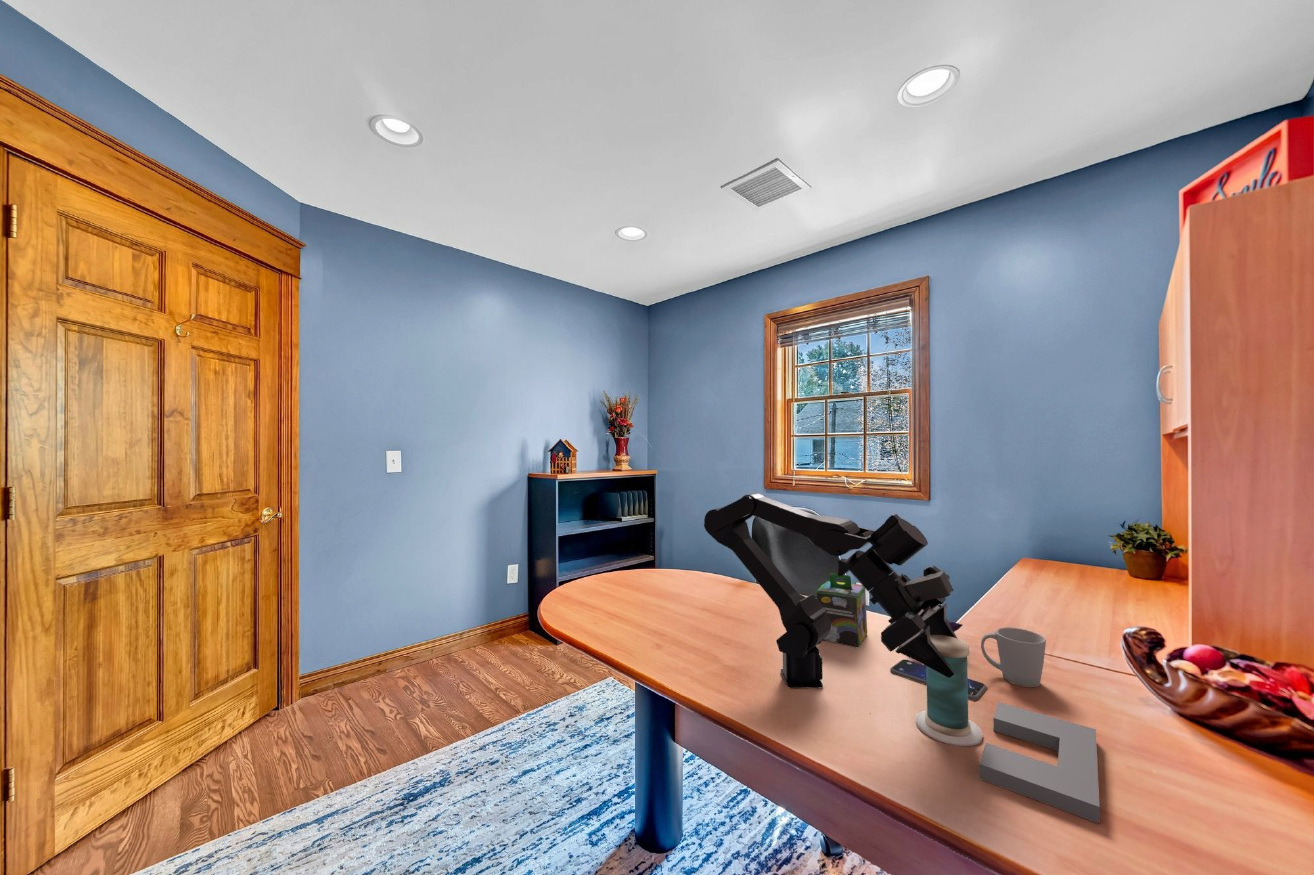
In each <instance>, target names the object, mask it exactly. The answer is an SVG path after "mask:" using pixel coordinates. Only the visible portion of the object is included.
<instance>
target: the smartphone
mask: <svg viewBox="0 0 1314 875" xmlns="http://www.w3.org/2000/svg"><path fill="white" fill-rule="evenodd" d="M889 671H890V672H891V673H892V674H894V675H896V676H899V677H902V678H905V679H908V680H910V681H914V682H917V683H921V684H923V685H925V686H927V675H926V665H924V664H922V663H920V662H917V661H916V662H915V661H914V660H910V659H901V660H900V661H898V662H897V663H895V664H894V665H893V666H892V667H890V670H889ZM987 689H988V686H987V685H986V684H985V683H983V682H980V681H977V680H974V679H971V678H968V700H971V701H977V700H979V699H980V698H981V697H982V695H983V694H984V693H985V692H986V691H987Z"/></svg>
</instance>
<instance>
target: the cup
mask: <svg viewBox="0 0 1314 875" xmlns="http://www.w3.org/2000/svg"><path fill="white" fill-rule="evenodd" d="M989 639H994V640H996V643H997V644H996V645H997V651H998V656H999V661H997V660H994V659H993V658H991V657H990V656H989V655H988V654H987V652H986V650H985V642H986V640H989ZM1046 644H1047V639H1046V638H1045V637H1044V636H1043V635H1041V634H1040V633H1037V632H1034V631H1032V630H1028V629H1023V628H1019V627H998V628H997V629H995V632H990V633H987V634H984V635H983V636H982V638H981V641H980V649H981V653H982V655H983V656H984V658H985V660H986V661H987V662H988V663H989V664H990V665H991V666H992V667H994V668H996V669H997V670H999V671H1001V673H1002V677H1003V678H1004V680H1006V681H1007V682H1009V683H1011V684H1013V685H1017V686H1020V687H1025V688H1037V687H1039V686H1041V683H1042V682H1041V681H1042V676H1043V669H1044V663H1045V656H1046V654H1045V653H1046Z"/></svg>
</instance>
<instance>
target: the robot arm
mask: <svg viewBox="0 0 1314 875" xmlns="http://www.w3.org/2000/svg"><path fill="white" fill-rule="evenodd" d="M752 517H757V518H759V519H762V520H764V521H767V522H769V523H772V524H774V525H777V526H778V527H781V528H784V529H787V530H788V531H791V532H794V533H796V534H799V535H801V536H803V537H804V538H806V539H807V540H808V541H810V543H812V545H814V546H816V547H817V548H818V549H820V550H822V551H823V552H825V553H826V554H828V555H830V556H834V557H840V556H844V555H846V554H848V553H849V552H851V551H853V550H856V551H855V552H854V553H852V554H851V555H850V556H849V557H848V558H844V557H842V558H840V559H838V560H837V564H838V568H837V574H838V576H840V577H841V576H843V575H847V574H848V573H849V572H850V573H851V575H853V577H854V578H855V579H856V580H857V581H858V582H859V583H860V585H863V587H864V588H865V591H867V592H868V593H869V594H870V596H871V598H870V599H869V601H870V602H871V604H873V605H876V604H879V605H880V607H881V608H882V609H883V610H884V611H885V613H887V615H888V616H889V617H890V618H889V619H888V620H887V621H888V622H889V625H887V626H886V627H885V628H884V629H883V630H882V631H881V632H880V642H881V643H882V644H883V645H884V646H885V647H886V649H887V650H888V651H889V652H890V653H891V652H893V651H895V653H896V654H902V655H903V656H906V657H908V658H909V659H912V660H913V661H916V662H917V663H920V664H923V665H926V666H927V667H929V668H931V669H933V670H935V671H937V672H939V673H940V674H942V675H944V676H946V677H948V678H950V677H952V676H953V675H954V672H953V670H952V669H951V667H950V666H949V664H948V663H947V662H946V660H945V659H944V658H943V656H942V655H941V654H940V652H939V651H938V649H937V648H936V647H935V645H934V644H933V643H932V641H931V639H930V635H944V636H950V637H954V638H957V639H959V638H958V636H957V635H956V633H955V632H954V631H953V630H952V628H951V626H950V624H949V622H948V621H949V620H948V619H947V608H948V604H947V603H945V601H946V600H947V597H949V596H951V593H952V592H954V588H953V585H952V584H951V582H950V575H949V574H946V572H945V570H944V569H943V570H940V569H939V568H938V567H937V566H936V565H929V566H927V567H925V568H924V569H923V576H922V575H921V576H919V577H916V578H914V579H913V578H912V579H910V577H909V576H908V575H907V574H904V573H901V574H898V573H897V572H896V571H895V570H894V569H893V567H892V566H891V565H893V564H894V565H897V566H900V567H902V565H904V564H905V563H906V562H908V561H909V560H910V559H911V558H913V557H914V556H915V555H917V554H918V553H919V552H920V551H922V550H923V549H924V548H925V547H927V546H928V544H929V541H928V539H927V538H926V537H925V535H924V534H923V532H922V531H921V530H920V529H919V528H918V527H917V526H915V525H913V524H912V523H911V522H909V521H908V520H905V519H903V518H901V516H899V514H897V513H894V514H891V515H890V516H889V517H888V518H887V519H886V520H885V521H884V523H883V524H881V525H880V526H879V527H878V528H877V529H875V530H874V529H869V528H865V527H861V526H859V525H858V524H857V523H856V522H855V521H853V520H851V519H847V518H841V517H836V516H831V515H830V516H827V515H817V514H813V513H810V512H808V511H805V510H803V509H799V508H796V507H794V506H791V505H788V504H786V503H783V502H781V501H777V500H775V499H772V498H770V497H766V496H764V495H763V494H762V493H758V492H754V493H749V494H744V495H743V496H742V497H740V498H738V499H737V500H736V501H734V502H731V503H729V504H727V505H725V506H723V507H718V508H712V509H710V510H708V511H707V512H706V514H705V515H704V521H703V527H704V530H705V531H706V533H707V534H708V535H709V536H710V537H711V538H713V540H715V541H716V542H717V543H718V544H719V545H720V544H721V545H722V546H724V547H726V548H727V549H729V550H731V551H732V552H733V554H735V556H736V557H737V558H738V559H739V561H740V562H741V564H742V565H743V566H744V567H745V568H746V570H747V571H748V572H749V573H750V574H751V576H752V578H754V580H755V581H756V582H757V583H758V585H760V587H761V589H762V590H763V591H764V592H765V593H766V594H767V596H768V597H769V598H770V600H771V601H772V602H773V603H774V604H775V606H776V607H777V609H778V612H779V615H780V619H781V623H782V626H783V627H784V629H785V630H786V632H784V634H782V635H781V636H780V637H778V638H777V639H776V644H777V648H778V651H779V652H780V653H782V668H781V669H780V674H781V676H782V679H783V680H784V682H785V684H786V686H787V687H788V688H789V689H791V688H792V689H793V688H794V689H795V688H796V689H799V688H800V689H801V688H802V689H804V688H805V689H807V688H814V689H815V688H816V689H817V688H818V689H819V688H821V689H822V688H823V687H824V683H823V682H822V680H823V677H824V676H823V674H824V673H823V657H822V656H821V655H820V649H819V648H818V647H817V646H818V645H820V644H821V643H822V641H823V640H822V639H824V638H825V637H826V636H827V635H828V634H829V633H830V630H831V620H830V618H829V616H828V615H827V613H826V612H828V610H827V609H825V608H824V607H823V606H822V605H821V604H820V603H819V602H818V600H817V596H815V595H814V594H813V593H811V594H809V595H808V596H804V594H803V595H802V594H800V593H799V592H798V591H797V590H796V589H795V588H794V586H793V585H792V584H791V583H790V582H789V581H788V579H787V578H786V577H785V576H784V574H783V573H782V572H781V571H780V570H779V568H777V566H776V565H775V564H774V563H773V561H772V560H771V559H770V558H769V557H768V556H767V554H766V553H765V552H764V551H763V550H762V549H761V547H760V546H759V545H758V544H757V543H756V541H755V540H754V539H753V538H752V536H751V533H750V530H749V525H748V522H747V521H748V520H749V519H751V518H752ZM869 544H871V546H870V547H869V548H868V549H866V551H863V550H861V548H863V547H865V546H868V545H869ZM939 605H941V606H939Z"/></svg>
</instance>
